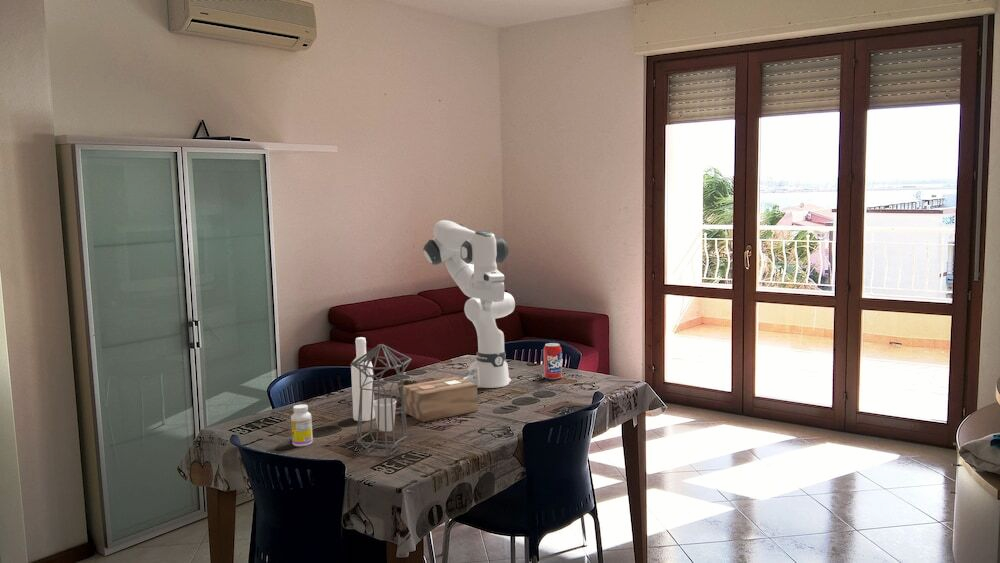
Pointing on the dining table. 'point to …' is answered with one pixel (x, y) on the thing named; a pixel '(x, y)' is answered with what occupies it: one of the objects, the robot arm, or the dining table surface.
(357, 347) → the bottle
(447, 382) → the white rectangular block
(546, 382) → the dining table surface
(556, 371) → the soda can
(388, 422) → the dixie cup
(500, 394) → the dining table surface
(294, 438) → the supplement bottle
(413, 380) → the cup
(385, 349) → the geometric lantern
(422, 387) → the peg terracotta
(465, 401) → the light wood block
